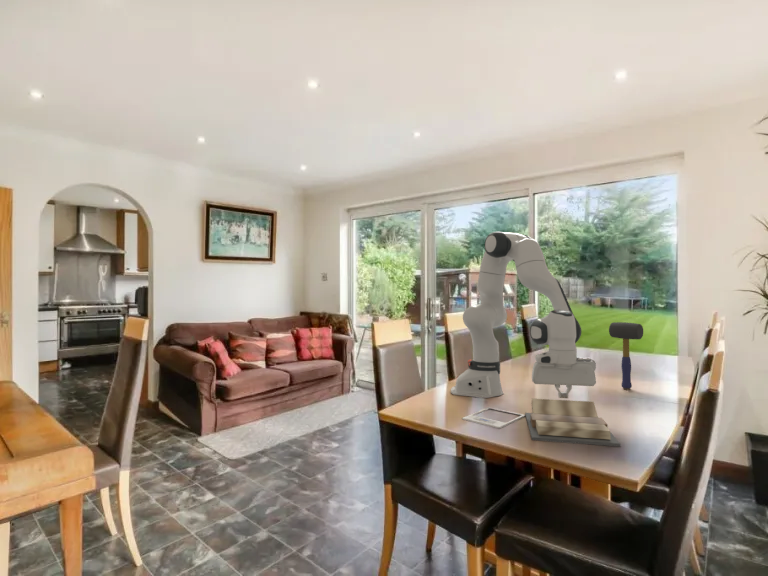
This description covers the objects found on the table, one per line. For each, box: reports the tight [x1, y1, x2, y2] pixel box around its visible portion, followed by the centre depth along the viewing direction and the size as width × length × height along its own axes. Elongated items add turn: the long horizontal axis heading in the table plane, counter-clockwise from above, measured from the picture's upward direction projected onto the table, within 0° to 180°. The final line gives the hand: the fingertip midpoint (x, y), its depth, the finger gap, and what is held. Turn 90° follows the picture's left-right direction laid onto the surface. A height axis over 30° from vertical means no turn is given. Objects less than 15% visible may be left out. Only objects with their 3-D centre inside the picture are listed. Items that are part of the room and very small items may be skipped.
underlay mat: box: [524, 412, 621, 447], centre depth 136 cm, size 24×26×1 cm
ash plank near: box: [536, 420, 611, 440], centre depth 129 cm, size 20×7×2 cm, turn 76°
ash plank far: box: [531, 398, 599, 418], centre depth 143 cm, size 20×7×2 cm, turn 76°
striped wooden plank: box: [529, 412, 609, 429], centre depth 136 cm, size 22×7×2 cm, turn 76°
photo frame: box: [461, 407, 526, 429], centre depth 148 cm, size 15×1×18 cm
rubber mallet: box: [608, 321, 644, 390], centre depth 188 cm, size 12×8×30 cm, turn 37°
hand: (563, 397), depth 144 cm, fingers closed
